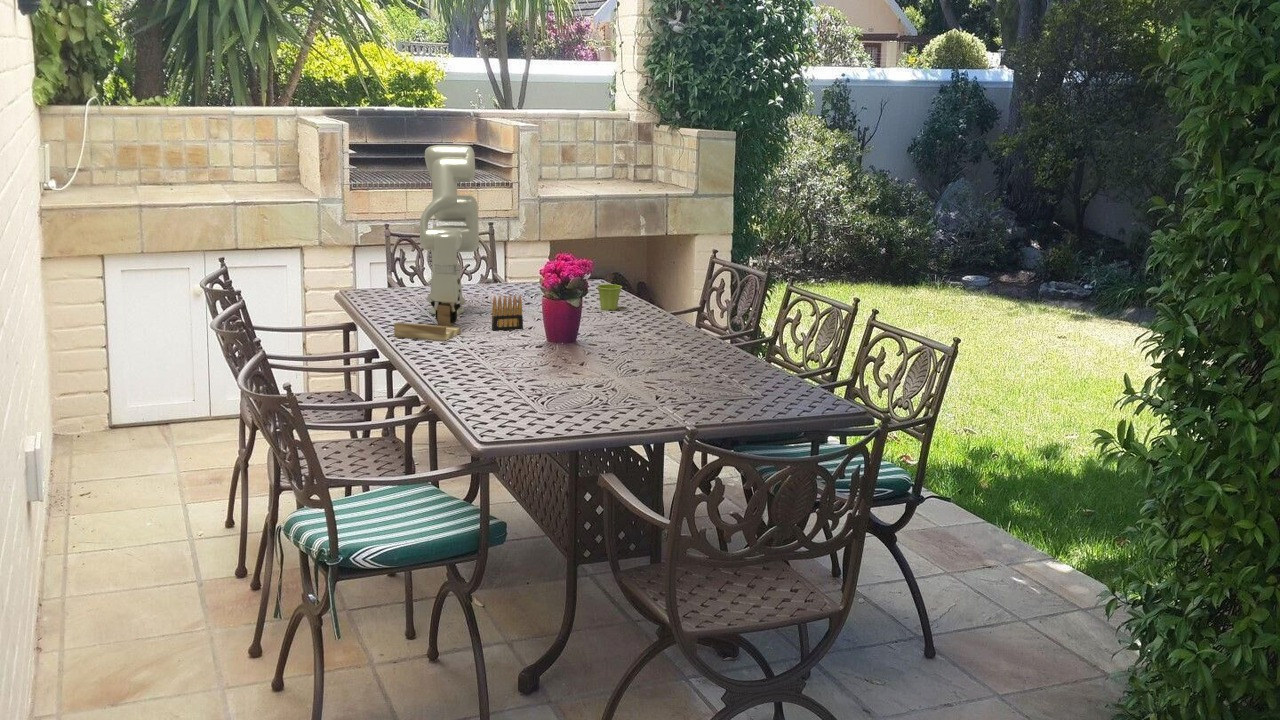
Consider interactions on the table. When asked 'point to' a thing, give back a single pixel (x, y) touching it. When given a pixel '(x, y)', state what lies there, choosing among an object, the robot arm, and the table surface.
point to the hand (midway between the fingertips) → (446, 320)
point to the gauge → (444, 314)
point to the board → (425, 331)
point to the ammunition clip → (513, 319)
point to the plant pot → (609, 296)
